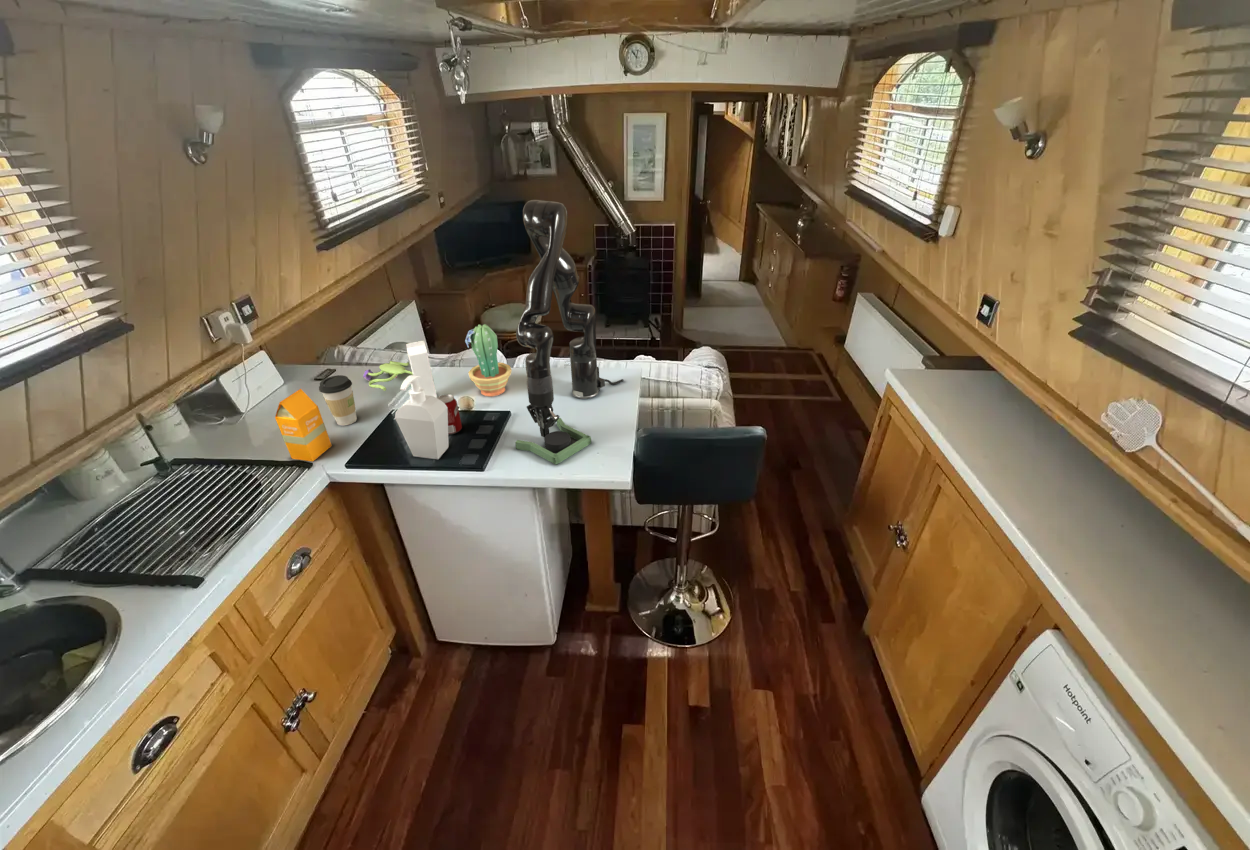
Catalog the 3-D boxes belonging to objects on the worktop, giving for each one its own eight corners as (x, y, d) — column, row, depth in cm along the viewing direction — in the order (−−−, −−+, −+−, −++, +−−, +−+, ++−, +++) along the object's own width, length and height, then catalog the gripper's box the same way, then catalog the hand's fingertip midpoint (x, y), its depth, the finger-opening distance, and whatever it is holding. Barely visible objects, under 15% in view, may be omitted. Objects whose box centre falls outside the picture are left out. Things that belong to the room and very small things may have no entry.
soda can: (456, 437, 177) (449, 404, 171) (437, 435, 178) (429, 402, 172) (465, 426, 183) (459, 394, 176) (447, 424, 184) (440, 392, 177)
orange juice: (332, 445, 174) (312, 389, 163) (312, 461, 167) (290, 403, 156) (310, 442, 175) (289, 387, 165) (290, 458, 168) (267, 401, 158)
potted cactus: (488, 378, 212) (478, 316, 199) (522, 385, 207) (514, 321, 194) (462, 395, 201) (450, 331, 187) (497, 404, 195) (487, 337, 182)
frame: (559, 423, 183) (559, 417, 182) (595, 440, 174) (595, 434, 173) (515, 448, 171) (514, 441, 170) (550, 468, 162) (550, 461, 160)
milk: (418, 397, 200) (404, 340, 189) (435, 393, 202) (422, 337, 191) (420, 404, 195) (406, 346, 184) (438, 400, 198) (425, 343, 186)
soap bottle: (402, 460, 166) (381, 384, 153) (419, 442, 175) (401, 368, 161) (439, 465, 164) (421, 387, 150) (455, 446, 172) (439, 371, 159)
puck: (558, 436, 176) (557, 428, 175) (576, 445, 172) (575, 436, 170) (539, 447, 171) (538, 438, 170) (557, 456, 167) (556, 448, 165)
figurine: (375, 402, 198) (371, 388, 195) (359, 374, 217) (355, 361, 214) (426, 387, 206) (423, 374, 203) (407, 362, 225) (404, 350, 222)
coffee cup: (369, 416, 189) (357, 377, 181) (345, 430, 181) (332, 390, 173) (348, 411, 192) (335, 372, 185) (324, 424, 185) (310, 384, 177)
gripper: (564, 389, 164) (568, 438, 173) (535, 376, 171) (540, 424, 180) (545, 399, 159) (550, 448, 168) (516, 385, 166) (522, 433, 175)
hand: (545, 436), depth 174 cm, fingers closed
